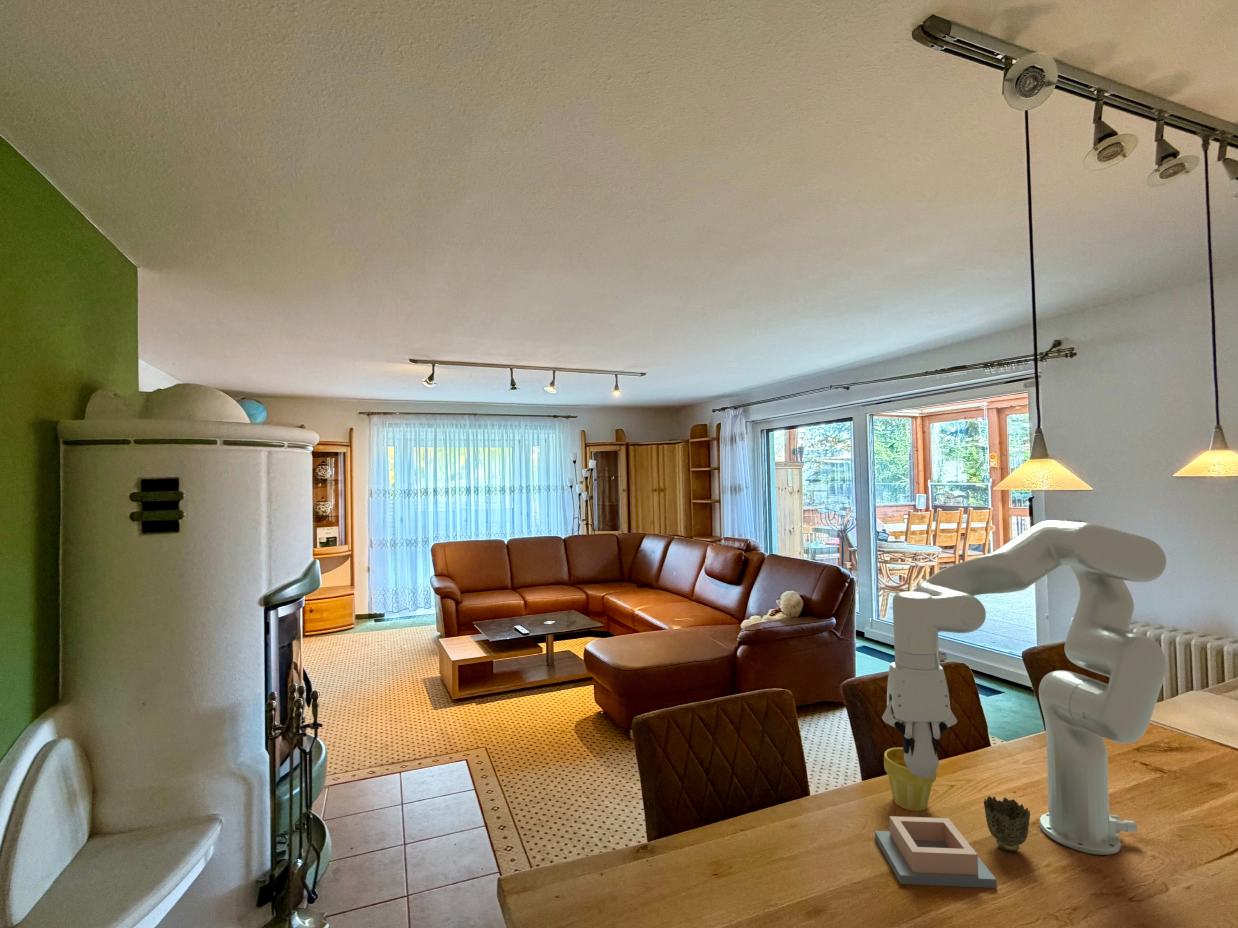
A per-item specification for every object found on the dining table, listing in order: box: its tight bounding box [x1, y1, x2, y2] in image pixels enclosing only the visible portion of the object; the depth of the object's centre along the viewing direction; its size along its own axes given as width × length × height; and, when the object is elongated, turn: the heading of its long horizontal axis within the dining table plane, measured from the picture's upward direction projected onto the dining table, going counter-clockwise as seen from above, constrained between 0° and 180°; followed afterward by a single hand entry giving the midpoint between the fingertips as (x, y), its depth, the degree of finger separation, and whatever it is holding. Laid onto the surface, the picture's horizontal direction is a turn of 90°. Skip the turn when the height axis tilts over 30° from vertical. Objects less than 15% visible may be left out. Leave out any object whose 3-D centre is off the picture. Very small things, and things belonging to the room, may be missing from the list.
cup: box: [983, 795, 1031, 853], centre depth 113 cm, size 8×7×8 cm
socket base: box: [874, 815, 998, 889], centre depth 109 cm, size 16×13×5 cm
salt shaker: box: [904, 722, 940, 778], centre depth 111 cm, size 6×6×13 cm
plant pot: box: [883, 747, 937, 812], centre depth 129 cm, size 10×10×10 cm
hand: (920, 755), depth 111 cm, fingers closed on salt shaker, 3 cm apart
